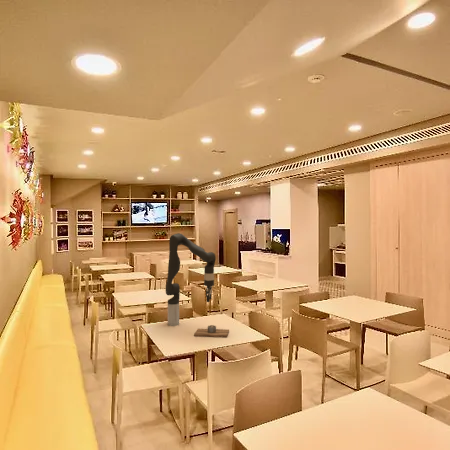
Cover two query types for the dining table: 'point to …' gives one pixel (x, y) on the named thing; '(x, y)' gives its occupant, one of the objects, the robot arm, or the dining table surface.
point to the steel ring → (212, 329)
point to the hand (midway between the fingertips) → (208, 300)
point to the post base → (205, 333)
